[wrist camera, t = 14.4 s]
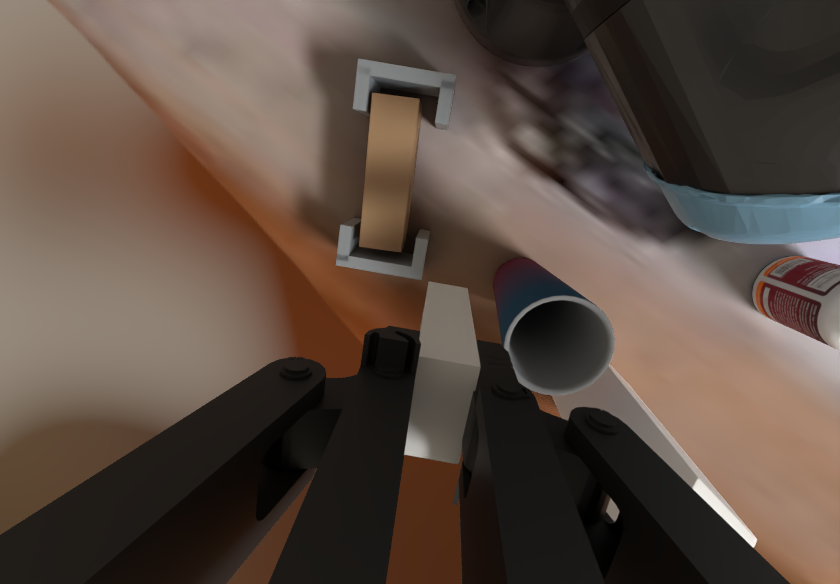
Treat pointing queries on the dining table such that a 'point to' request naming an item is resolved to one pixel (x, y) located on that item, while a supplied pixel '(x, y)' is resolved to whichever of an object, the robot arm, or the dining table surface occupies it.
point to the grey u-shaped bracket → (403, 86)
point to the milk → (648, 439)
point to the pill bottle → (802, 297)
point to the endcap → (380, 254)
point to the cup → (550, 329)
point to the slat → (389, 171)
